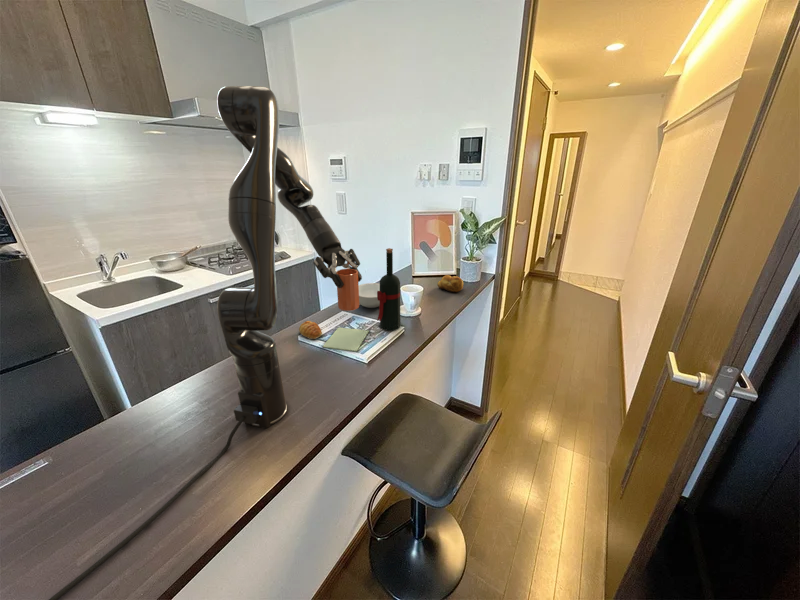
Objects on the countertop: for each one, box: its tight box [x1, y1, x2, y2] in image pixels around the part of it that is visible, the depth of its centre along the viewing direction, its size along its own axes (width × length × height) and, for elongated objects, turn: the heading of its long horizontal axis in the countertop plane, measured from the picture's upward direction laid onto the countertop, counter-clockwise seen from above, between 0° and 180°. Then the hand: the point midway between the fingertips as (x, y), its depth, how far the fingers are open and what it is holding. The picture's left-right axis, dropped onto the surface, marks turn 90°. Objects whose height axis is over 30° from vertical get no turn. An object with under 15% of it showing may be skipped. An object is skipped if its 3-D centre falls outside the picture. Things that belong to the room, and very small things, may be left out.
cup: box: [336, 268, 360, 312], centre depth 97 cm, size 6×6×11 cm
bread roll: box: [437, 274, 464, 293], centre depth 158 cm, size 13×10×8 cm
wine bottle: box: [377, 247, 401, 332], centre depth 117 cm, size 8×10×30 cm
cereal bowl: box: [358, 282, 380, 309], centre depth 141 cm, size 17×17×7 cm
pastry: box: [298, 320, 323, 340], centre depth 117 cm, size 9×7×4 cm
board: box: [322, 326, 370, 352], centre depth 115 cm, size 14×12×1 cm
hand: (350, 283), depth 95 cm, fingers closed on cup, 6 cm apart
